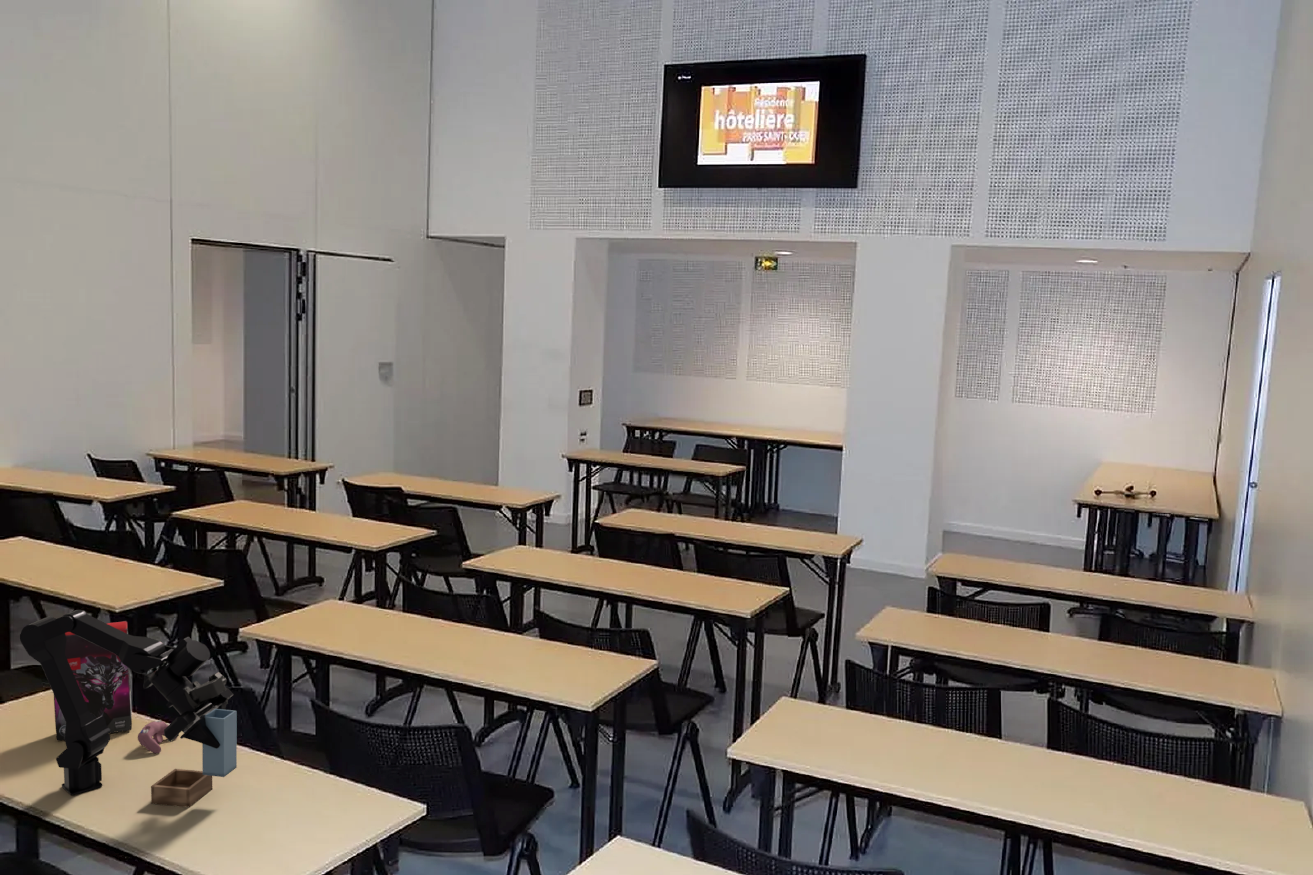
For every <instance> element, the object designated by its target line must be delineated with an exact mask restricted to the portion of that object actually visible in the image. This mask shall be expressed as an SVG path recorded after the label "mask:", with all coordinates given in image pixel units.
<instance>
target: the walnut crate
mask: <svg viewBox="0 0 1313 875" xmlns="http://www.w3.org/2000/svg"><path fill="white" fill-rule="evenodd" d="M212 790H213V776H209V775H203V770H194V769H182V768H181V769H180V768H174V769H172V770H171V771H170V772H168V773H167V774H166V775H164V776H163V777H162V778H160V779H159V780H157V781H156V782H155V783H153V784H152V785H151V786H150V794H151V795H150V797H151V804H152V805H160V806H161V805H162V806H172V807H180V808H181V807H184V808H191V807H192V806H193V805H195V804H196V803H197V802H198V801H200V800H201V799H202V798H203V797H205V796H206V795H207V794H208V793H209V792H211V791H212Z"/></svg>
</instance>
